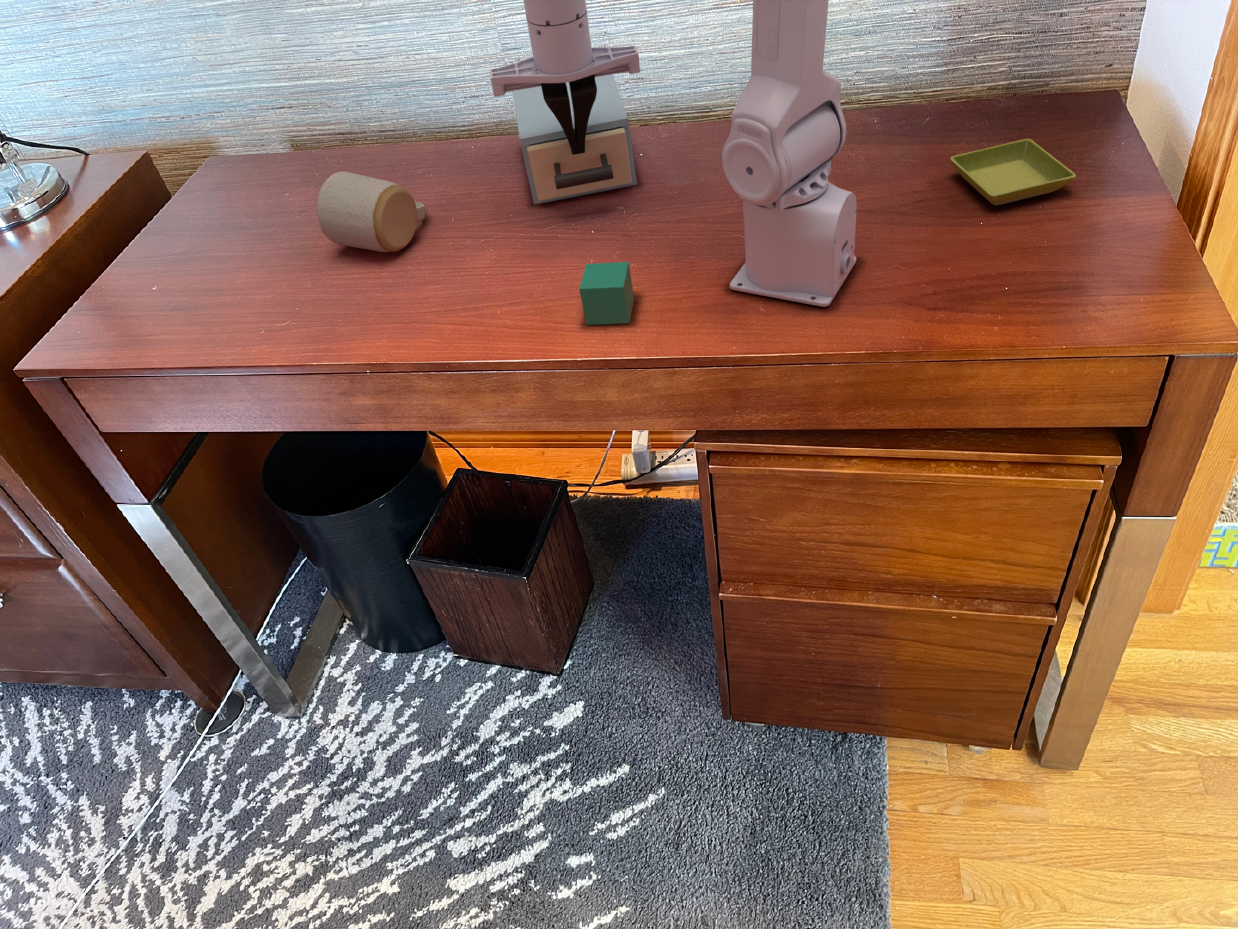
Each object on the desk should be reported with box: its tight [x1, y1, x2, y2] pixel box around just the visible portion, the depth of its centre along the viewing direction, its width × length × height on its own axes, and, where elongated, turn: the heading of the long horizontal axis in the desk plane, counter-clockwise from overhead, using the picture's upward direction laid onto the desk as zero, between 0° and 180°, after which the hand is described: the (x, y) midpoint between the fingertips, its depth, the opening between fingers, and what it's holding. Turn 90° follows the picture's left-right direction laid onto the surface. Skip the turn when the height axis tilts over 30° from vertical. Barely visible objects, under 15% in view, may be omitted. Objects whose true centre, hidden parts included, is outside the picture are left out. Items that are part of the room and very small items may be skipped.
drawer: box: [527, 128, 632, 201], centre depth 99 cm, size 18×10×6 cm, turn 8°
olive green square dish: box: [949, 138, 1077, 207], centre depth 88 cm, size 9×9×2 cm
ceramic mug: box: [316, 171, 426, 253], centre depth 96 cm, size 11×8×8 cm
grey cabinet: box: [512, 74, 638, 205], centre depth 102 cm, size 15×12×8 cm
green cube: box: [578, 261, 635, 326], centre depth 81 cm, size 4×4×4 cm
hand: (576, 149), depth 94 cm, fingers closed, pressing on drawer
